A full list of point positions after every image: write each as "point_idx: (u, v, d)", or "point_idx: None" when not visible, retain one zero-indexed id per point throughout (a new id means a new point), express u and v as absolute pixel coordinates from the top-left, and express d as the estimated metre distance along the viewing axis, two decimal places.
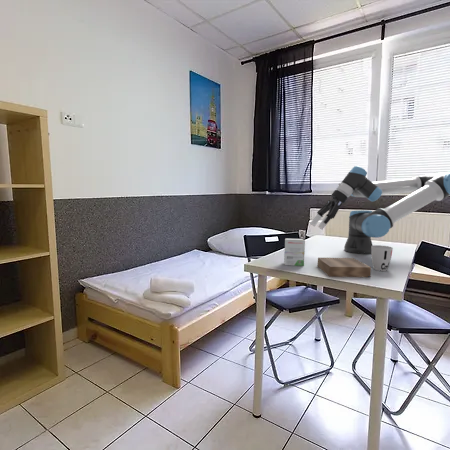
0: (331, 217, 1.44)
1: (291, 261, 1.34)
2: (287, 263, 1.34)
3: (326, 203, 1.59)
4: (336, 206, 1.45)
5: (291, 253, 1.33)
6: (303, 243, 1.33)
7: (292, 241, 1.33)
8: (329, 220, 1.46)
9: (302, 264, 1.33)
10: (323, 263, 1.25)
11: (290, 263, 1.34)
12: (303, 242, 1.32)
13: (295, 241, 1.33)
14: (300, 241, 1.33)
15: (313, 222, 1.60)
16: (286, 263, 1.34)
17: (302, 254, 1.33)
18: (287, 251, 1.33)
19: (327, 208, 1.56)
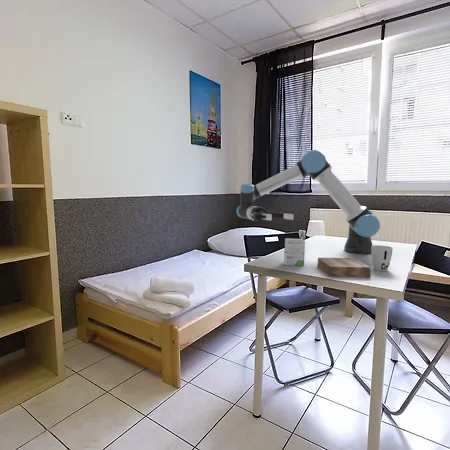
0: (257, 215, 1.44)
1: (291, 261, 1.34)
2: (287, 263, 1.34)
3: None
4: (253, 216, 1.49)
5: (291, 253, 1.33)
6: (303, 243, 1.33)
7: (293, 241, 1.33)
8: (263, 213, 1.43)
9: (302, 264, 1.33)
10: (323, 263, 1.25)
11: (290, 263, 1.34)
12: (303, 242, 1.32)
13: (295, 241, 1.33)
14: (300, 241, 1.33)
15: (290, 217, 1.47)
16: (286, 263, 1.34)
17: (302, 254, 1.33)
18: (287, 251, 1.33)
19: (272, 215, 1.54)
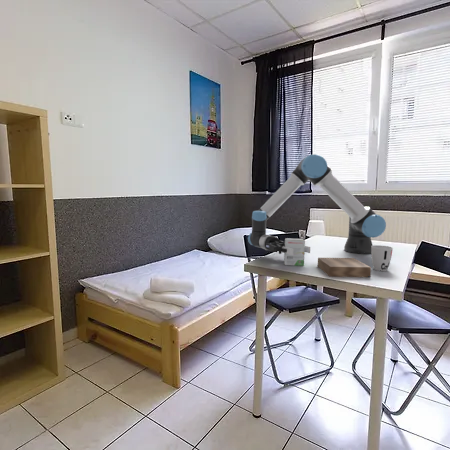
0: (277, 248, 1.34)
1: (291, 261, 1.34)
2: (287, 263, 1.34)
3: None
4: (270, 248, 1.40)
5: None
6: (303, 243, 1.32)
7: (292, 241, 1.33)
8: (283, 246, 1.34)
9: (302, 264, 1.33)
10: (323, 263, 1.25)
11: (290, 263, 1.34)
12: (303, 242, 1.32)
13: (295, 241, 1.33)
14: (300, 241, 1.33)
15: (306, 250, 1.35)
16: (286, 263, 1.34)
17: (302, 254, 1.33)
18: None
19: None
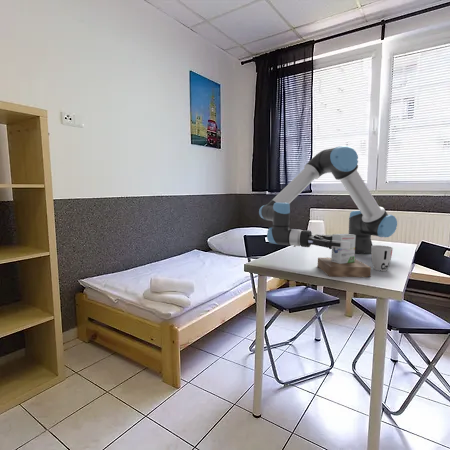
0: (329, 243, 1.18)
1: (345, 258, 1.22)
2: (341, 261, 1.21)
3: None
4: (315, 243, 1.22)
5: (345, 250, 1.21)
6: (354, 238, 1.23)
7: (346, 236, 1.21)
8: None
9: (353, 260, 1.24)
10: (323, 263, 1.25)
11: (344, 261, 1.22)
12: (354, 237, 1.23)
13: (348, 236, 1.22)
14: (352, 236, 1.23)
15: None
16: (341, 261, 1.21)
17: (353, 250, 1.24)
18: (342, 248, 1.21)
19: (325, 239, 1.31)
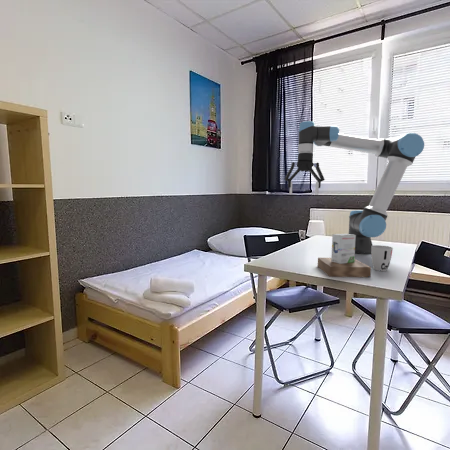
0: (286, 180, 1.54)
1: (345, 258, 1.22)
2: (341, 261, 1.21)
3: None
4: None
5: (345, 250, 1.21)
6: (354, 238, 1.23)
7: (346, 236, 1.21)
8: (291, 183, 1.53)
9: (353, 260, 1.24)
10: (323, 263, 1.25)
11: (344, 261, 1.22)
12: (354, 237, 1.23)
13: (348, 236, 1.22)
14: (352, 236, 1.23)
15: (315, 191, 1.56)
16: (341, 261, 1.21)
17: (353, 250, 1.24)
18: (342, 248, 1.21)
19: (311, 172, 1.54)
